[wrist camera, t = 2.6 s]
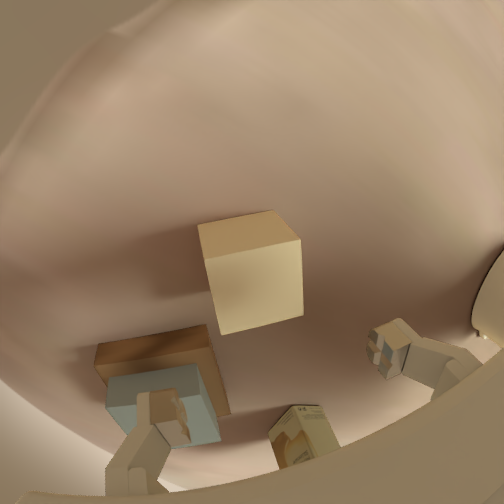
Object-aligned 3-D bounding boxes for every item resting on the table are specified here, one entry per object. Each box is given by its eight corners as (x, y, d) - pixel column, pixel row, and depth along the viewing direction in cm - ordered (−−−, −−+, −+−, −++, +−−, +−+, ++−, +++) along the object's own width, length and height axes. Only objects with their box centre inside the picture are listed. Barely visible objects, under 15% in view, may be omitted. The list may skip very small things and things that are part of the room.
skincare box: (291, 403, 30) (332, 498, 19) (321, 404, 31) (365, 489, 21) (264, 434, 32) (295, 520, 21) (294, 434, 33) (327, 513, 23)
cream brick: (272, 209, 20) (300, 239, 16) (278, 274, 22) (303, 315, 18) (197, 224, 19) (204, 259, 15) (210, 289, 22) (221, 335, 17)
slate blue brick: (196, 363, 21) (200, 394, 18) (215, 413, 24) (221, 441, 21) (109, 377, 20) (105, 407, 17) (141, 425, 23) (142, 452, 20)
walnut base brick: (205, 320, 23) (209, 346, 20) (225, 389, 27) (230, 414, 24) (99, 339, 22) (93, 365, 19) (137, 404, 26) (137, 428, 23)
